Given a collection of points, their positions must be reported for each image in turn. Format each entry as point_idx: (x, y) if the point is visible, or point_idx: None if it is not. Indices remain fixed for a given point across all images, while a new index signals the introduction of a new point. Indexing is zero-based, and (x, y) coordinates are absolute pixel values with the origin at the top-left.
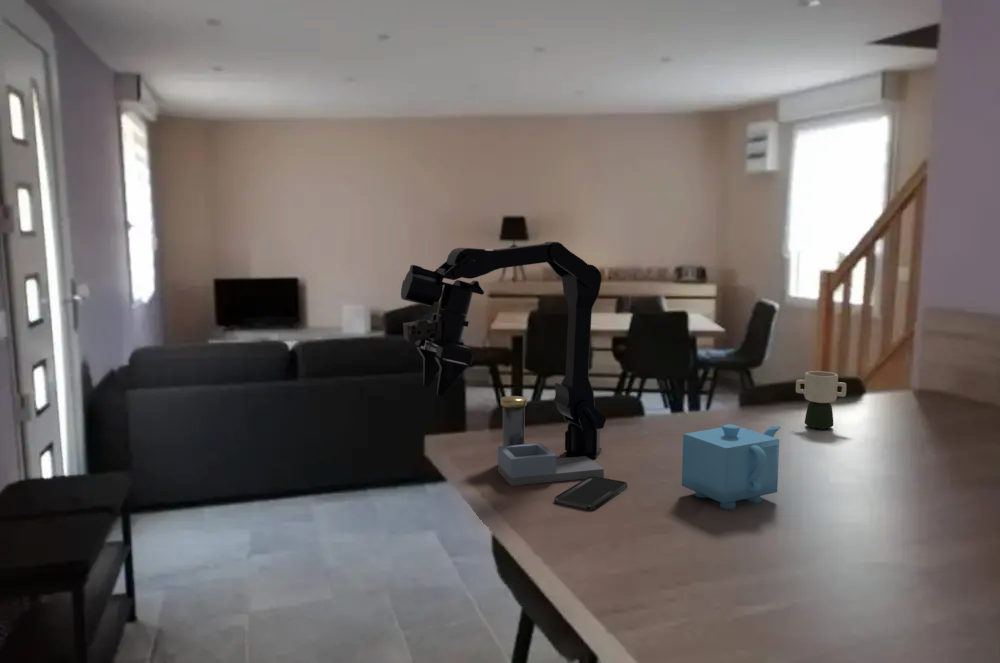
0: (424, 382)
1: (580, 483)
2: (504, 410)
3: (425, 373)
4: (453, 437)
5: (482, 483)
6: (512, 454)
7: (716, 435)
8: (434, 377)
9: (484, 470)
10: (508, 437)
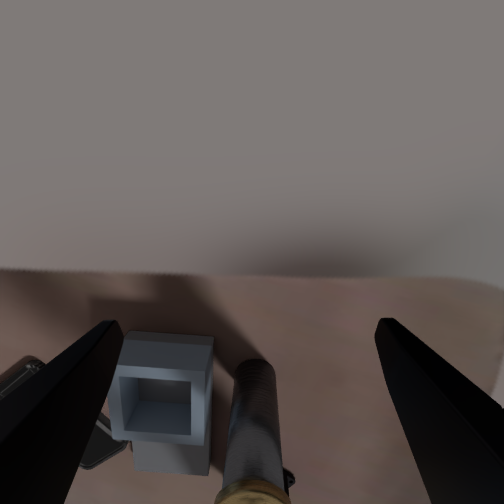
0: (389, 330)
1: (99, 420)
2: (246, 469)
3: (425, 381)
4: (482, 331)
5: (155, 291)
6: (137, 377)
7: None
8: (395, 406)
9: (229, 317)
10: (238, 408)
